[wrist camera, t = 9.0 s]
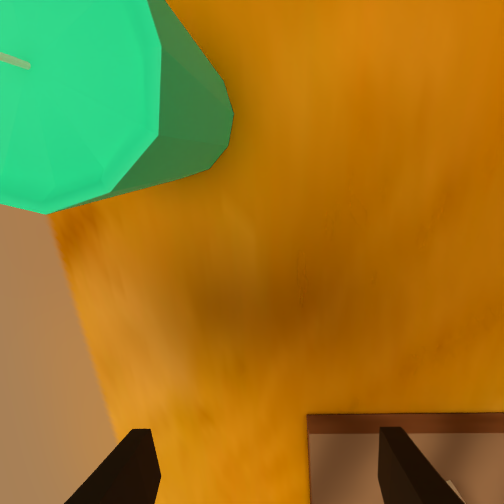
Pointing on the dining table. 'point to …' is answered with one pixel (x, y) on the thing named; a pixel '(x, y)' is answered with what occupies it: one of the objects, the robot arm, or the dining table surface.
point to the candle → (102, 101)
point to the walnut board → (425, 438)
